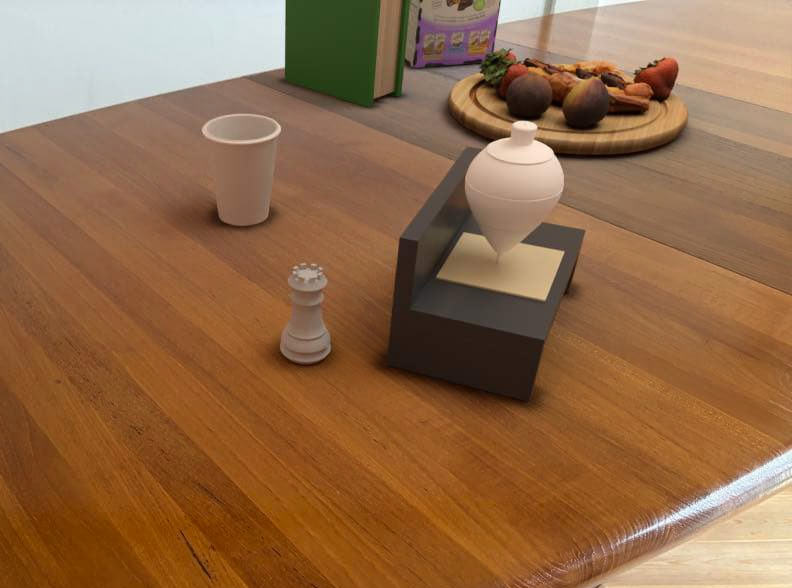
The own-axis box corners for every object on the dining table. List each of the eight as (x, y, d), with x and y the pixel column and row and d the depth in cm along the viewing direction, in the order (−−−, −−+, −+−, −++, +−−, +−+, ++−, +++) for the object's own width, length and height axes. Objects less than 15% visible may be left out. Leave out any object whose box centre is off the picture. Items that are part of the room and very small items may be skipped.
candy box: (478, 53, 140) (495, -56, 130) (492, 63, 136) (510, -49, 125) (401, 58, 139) (411, -52, 128) (412, 68, 134) (424, -45, 124)
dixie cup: (197, 205, 95) (192, 119, 89) (265, 194, 97) (264, 109, 91) (220, 236, 89) (216, 146, 82) (291, 223, 91) (293, 134, 85)
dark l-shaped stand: (571, 286, 79) (602, 167, 72) (529, 402, 65) (562, 269, 58) (449, 261, 84) (466, 146, 76) (385, 365, 70) (399, 237, 62)
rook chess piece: (334, 365, 70) (339, 283, 65) (282, 368, 70) (283, 285, 65) (326, 335, 73) (330, 256, 68) (277, 338, 73) (277, 258, 68)
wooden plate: (658, 84, 126) (674, 27, 121) (711, 165, 102) (734, 98, 96) (446, 76, 131) (453, 20, 125) (448, 152, 106) (457, 86, 101)
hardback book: (401, 95, 124) (418, -89, 109) (368, 107, 120) (382, -82, 105) (317, 70, 134) (322, -101, 119) (284, 80, 130) (286, -95, 115)
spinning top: (488, 292, 67) (516, 149, 59) (435, 252, 72) (454, 116, 65) (563, 272, 69) (599, 132, 62) (506, 234, 75) (532, 101, 67)
